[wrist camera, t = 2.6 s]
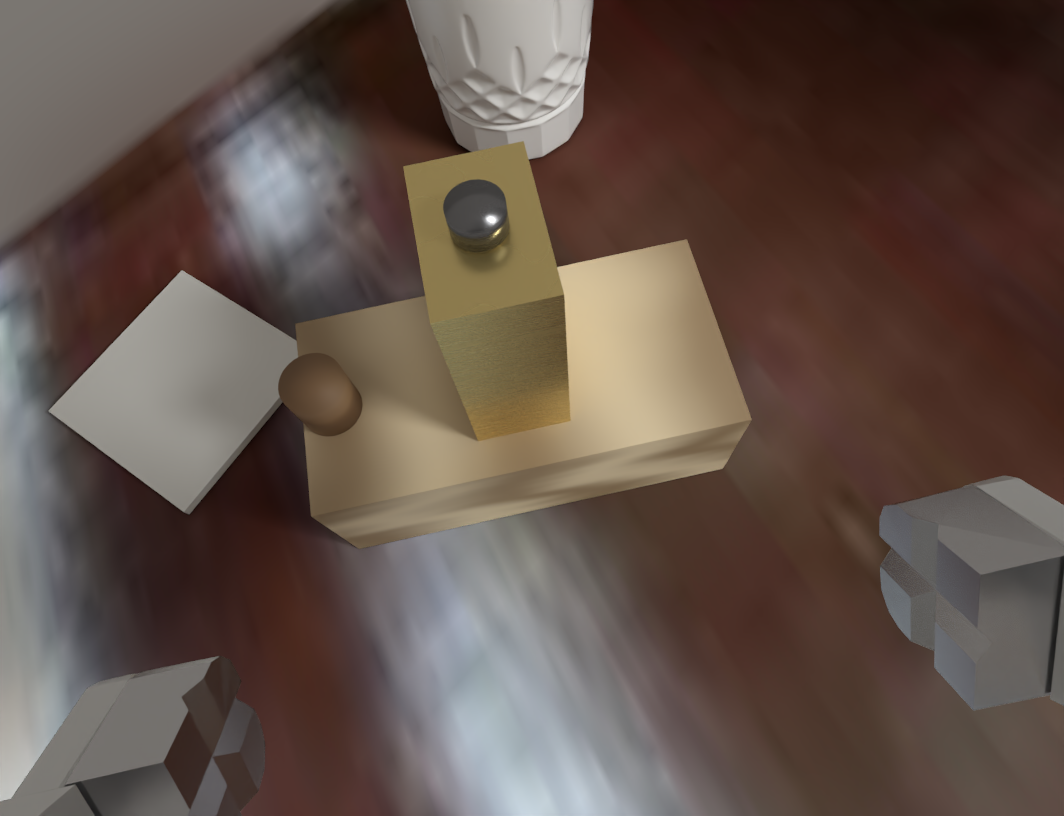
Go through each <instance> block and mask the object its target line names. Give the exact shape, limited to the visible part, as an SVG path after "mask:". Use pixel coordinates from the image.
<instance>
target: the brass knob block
mask: <svg viewBox="0 0 1064 816" xmlns="http://www.w3.org/2000/svg"><path fill="white" fill-rule="evenodd" d="M403 168H404V174H405V180H406V185H407V191H408V197H409V203H410V209H411V215H412V220H413V226H414V232H415V238H416V244H417V250H418V256H419V261H420V267H421V273H422V279H423V285H424V291H425V297H426V302H427V308H428V314H429V320H430V325H431V327H432V329H433V332H434V334H435V337H436V339H437V342H438V344H439V347H440V349H441V351H442V354H443V356H444V359H445V361H446V364H447V366H448V369H449V371H450V373H451V376H452V378H453V381H454V383H455V386H456V388H457V390H458V393H459V395H460V398H461V400H462V403H463V405H464V408H465V410H466V412H467V415H468V417H469V420H470V422H471V425H472V427H473V430H474V432H475V434H476V437H477V439H478V441H482V440H486V439H491V438H495V437H500V436H505V435H509V434H514V433H518V432H523V431H527V430H532V429H537V428H541V427H546V426H550V425H555V424H559V423H564V422H569V421H571V418H570V398H569V379H568V359H567V339H566V319H565V300H564V292H563V288H562V284H561V281H560V277H559V273H558V269H557V265H556V262H555V258H554V254H553V250H552V246H551V243H550V239H549V235H548V231H547V228H546V224H545V220H544V216H543V212H542V209H541V205H540V201H539V197H538V194H537V190H536V186H535V182H534V178H533V175H532V171H531V167H530V163H529V160H528V156H527V152H526V148H525V144H524V141H522V142H517V143H512V144H507V145H503V146H498V147H493V148H489V149H484V150H479V151H474V152H470V153H465V154H460V155H456V156H451V157H446V158H441V159H437V160H432V161H427V162H423V163H418V164H413V165H408V166H404V167H403Z"/></svg>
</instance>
